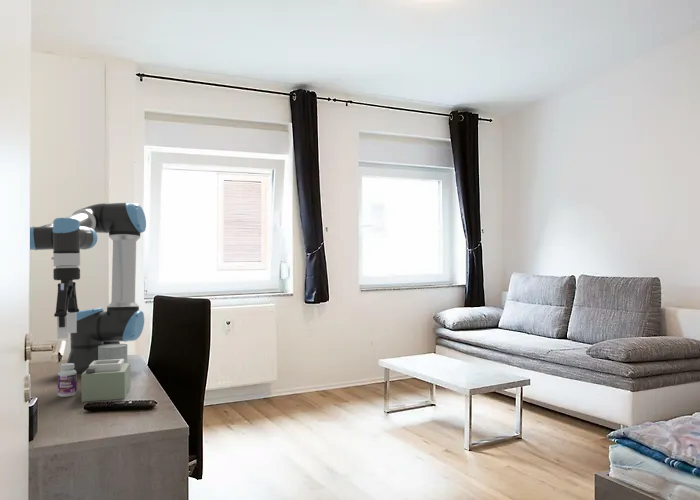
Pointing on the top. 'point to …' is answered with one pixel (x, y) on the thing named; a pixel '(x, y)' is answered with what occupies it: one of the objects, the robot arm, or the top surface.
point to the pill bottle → (67, 380)
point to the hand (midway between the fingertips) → (67, 335)
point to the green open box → (106, 380)
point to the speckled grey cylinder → (113, 352)
